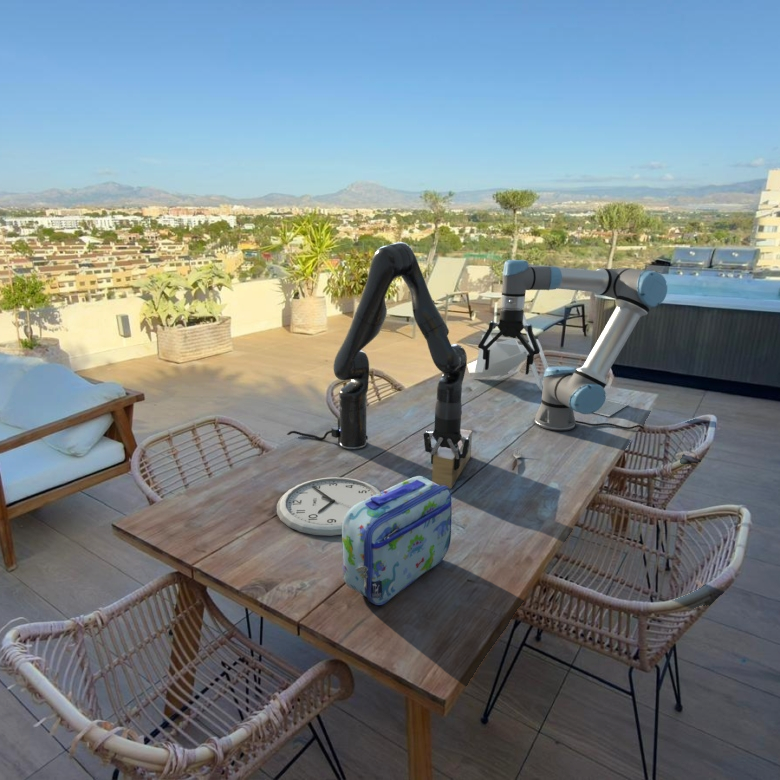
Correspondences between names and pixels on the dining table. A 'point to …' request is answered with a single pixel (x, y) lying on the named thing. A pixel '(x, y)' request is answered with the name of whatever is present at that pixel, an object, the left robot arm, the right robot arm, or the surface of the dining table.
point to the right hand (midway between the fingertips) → (506, 371)
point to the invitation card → (610, 408)
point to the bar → (449, 463)
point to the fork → (516, 457)
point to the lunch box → (395, 537)
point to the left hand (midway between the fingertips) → (445, 467)
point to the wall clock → (322, 504)
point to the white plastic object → (505, 358)
